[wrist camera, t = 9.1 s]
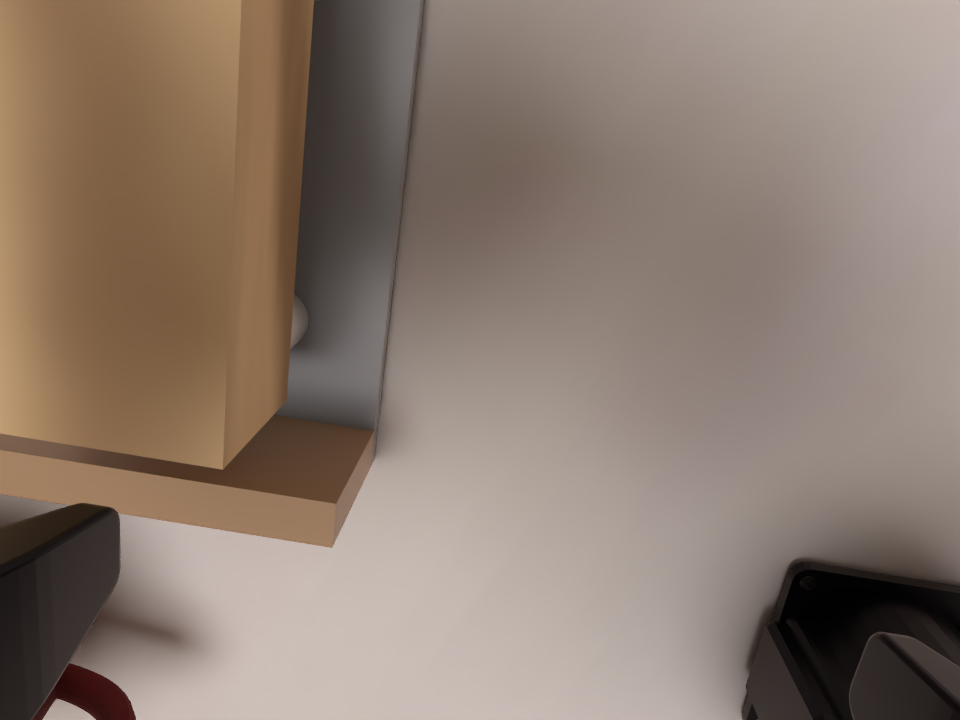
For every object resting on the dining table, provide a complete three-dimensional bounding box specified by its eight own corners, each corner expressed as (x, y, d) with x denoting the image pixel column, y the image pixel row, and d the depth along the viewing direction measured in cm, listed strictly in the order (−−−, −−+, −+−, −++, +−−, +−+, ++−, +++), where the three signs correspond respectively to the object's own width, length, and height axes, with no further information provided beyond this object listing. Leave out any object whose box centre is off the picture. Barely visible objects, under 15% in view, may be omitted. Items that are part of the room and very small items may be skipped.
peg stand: (446, -207, 16) (415, -351, 12) (374, 458, 22) (332, 547, 17) (72, -261, 17) (-111, -426, 12) (90, 413, 22) (-32, 489, 17)
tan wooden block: (323, -138, 14) (250, -240, 11) (286, 400, 18) (223, 469, 14) (85, -174, 14) (-72, -289, 11) (96, 370, 18) (-18, 430, 14)
